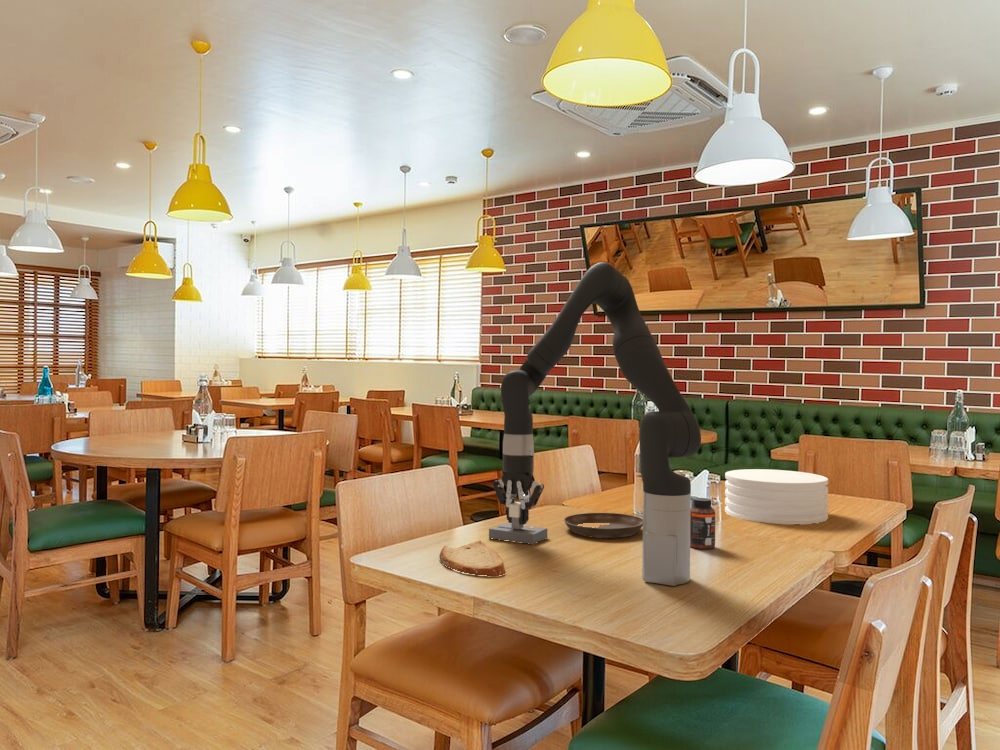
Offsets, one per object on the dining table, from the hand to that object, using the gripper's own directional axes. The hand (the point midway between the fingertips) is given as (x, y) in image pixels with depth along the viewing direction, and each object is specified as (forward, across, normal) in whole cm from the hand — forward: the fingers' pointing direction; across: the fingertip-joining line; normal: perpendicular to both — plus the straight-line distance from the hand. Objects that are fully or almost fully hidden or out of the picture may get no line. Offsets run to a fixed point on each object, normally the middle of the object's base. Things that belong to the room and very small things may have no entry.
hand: (517, 522), depth 172 cm
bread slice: (+5, +2, -24) cm, 24 cm away
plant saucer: (+5, +15, +20) cm, 25 cm away
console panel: (+4, 0, +1) cm, 4 cm away
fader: (+1, 0, 0) cm, 1 cm away
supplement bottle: (+4, +41, +16) cm, 44 cm away
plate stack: (+4, +50, +67) cm, 84 cm away
